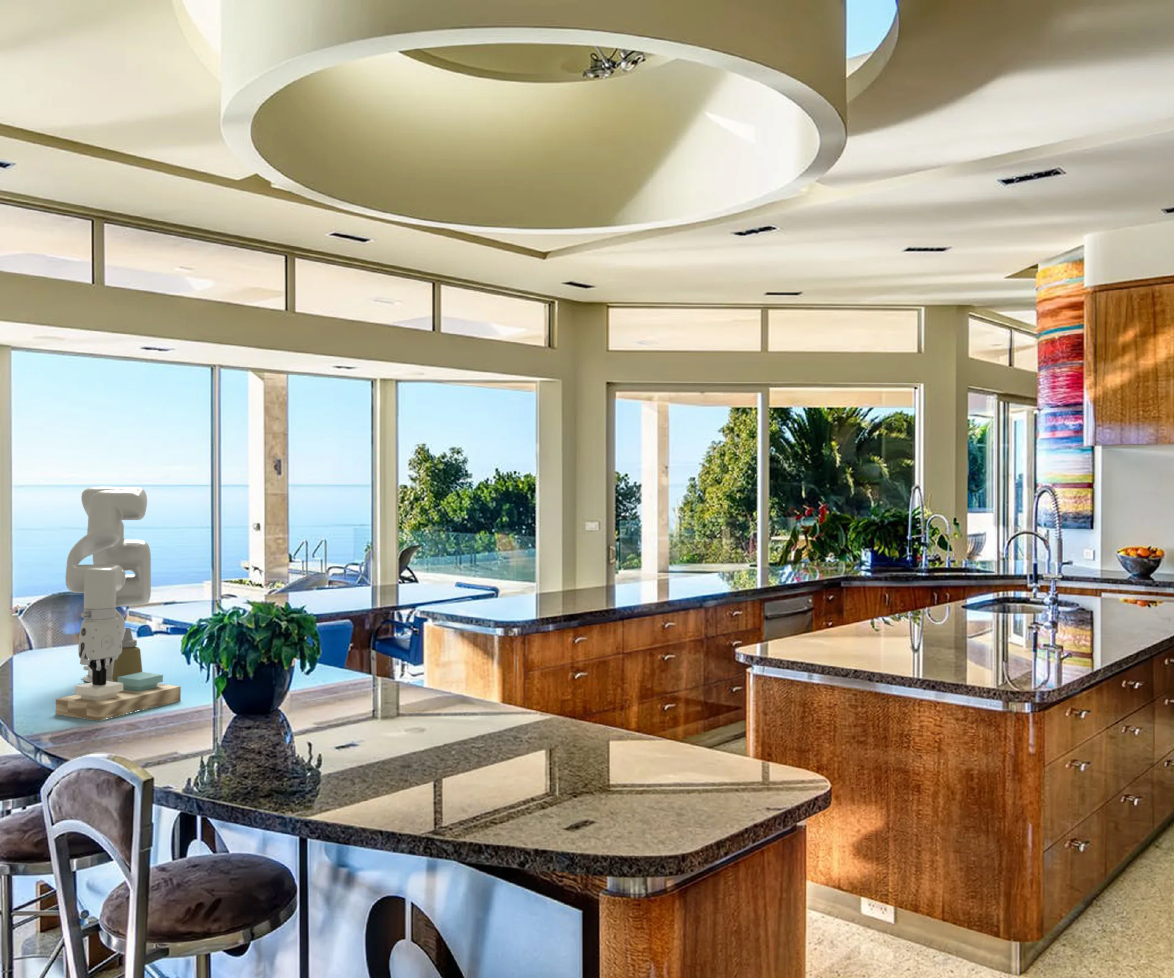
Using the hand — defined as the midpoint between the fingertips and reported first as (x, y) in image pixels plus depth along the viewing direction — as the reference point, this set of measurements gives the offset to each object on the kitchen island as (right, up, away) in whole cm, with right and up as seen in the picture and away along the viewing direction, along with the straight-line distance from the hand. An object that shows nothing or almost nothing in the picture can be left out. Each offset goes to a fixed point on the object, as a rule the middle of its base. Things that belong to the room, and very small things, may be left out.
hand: (99, 684), depth 257 cm
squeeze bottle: (-5, -7, +27) cm, 29 cm away
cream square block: (0, -5, 0) cm, 5 cm away
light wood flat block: (+3, -7, +6) cm, 10 cm away
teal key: (+5, -5, +12) cm, 14 cm away
